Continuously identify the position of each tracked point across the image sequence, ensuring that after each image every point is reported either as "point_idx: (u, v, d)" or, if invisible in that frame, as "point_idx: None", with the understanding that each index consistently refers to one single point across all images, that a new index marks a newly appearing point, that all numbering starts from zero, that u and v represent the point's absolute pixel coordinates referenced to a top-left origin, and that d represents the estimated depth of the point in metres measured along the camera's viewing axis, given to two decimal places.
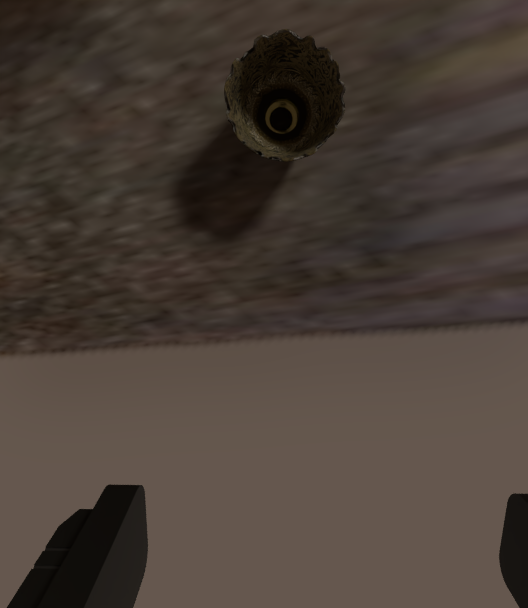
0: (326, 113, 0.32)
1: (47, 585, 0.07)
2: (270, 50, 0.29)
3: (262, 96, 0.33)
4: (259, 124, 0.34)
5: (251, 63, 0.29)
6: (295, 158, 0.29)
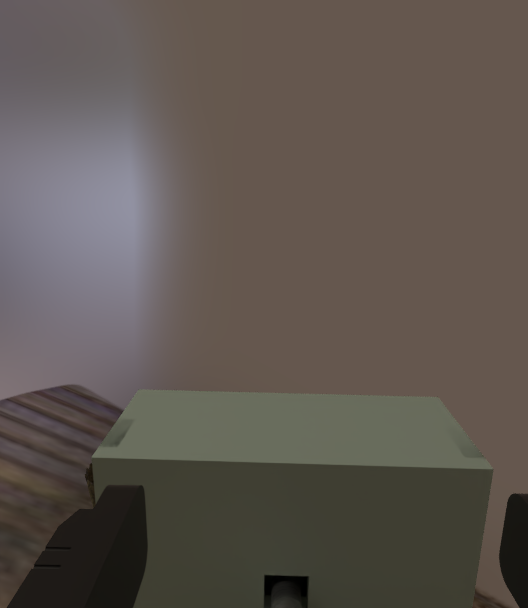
0: None
1: (47, 585, 0.07)
2: None
3: None
4: None
5: None
6: None
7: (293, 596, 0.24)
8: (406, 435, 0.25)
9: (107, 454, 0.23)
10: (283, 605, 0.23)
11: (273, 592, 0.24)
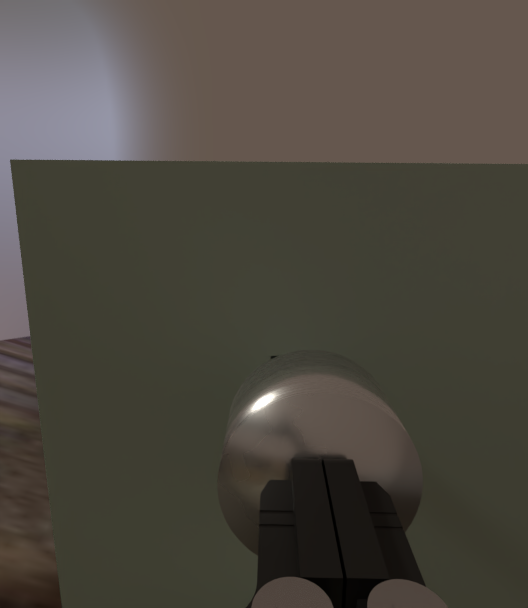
0: None
1: (281, 540, 0.09)
2: None
3: None
4: None
5: None
6: None
7: None
8: None
9: (34, 160, 0.15)
10: None
11: None
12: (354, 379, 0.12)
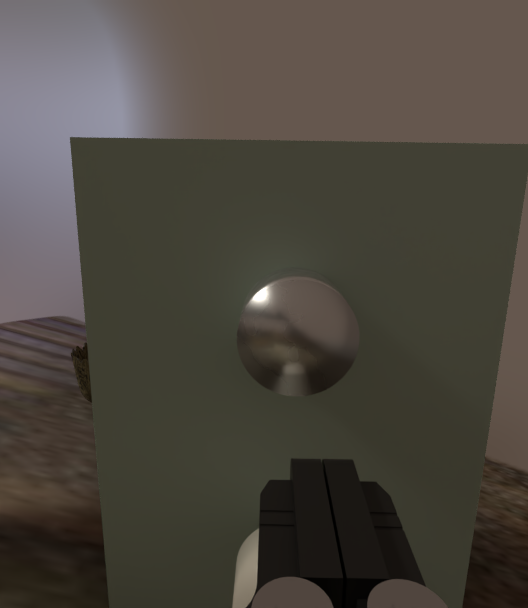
0: None
1: (281, 540, 0.09)
2: None
3: None
4: None
5: None
6: None
7: None
8: None
9: (88, 138, 0.20)
10: None
11: None
12: (320, 278, 0.19)
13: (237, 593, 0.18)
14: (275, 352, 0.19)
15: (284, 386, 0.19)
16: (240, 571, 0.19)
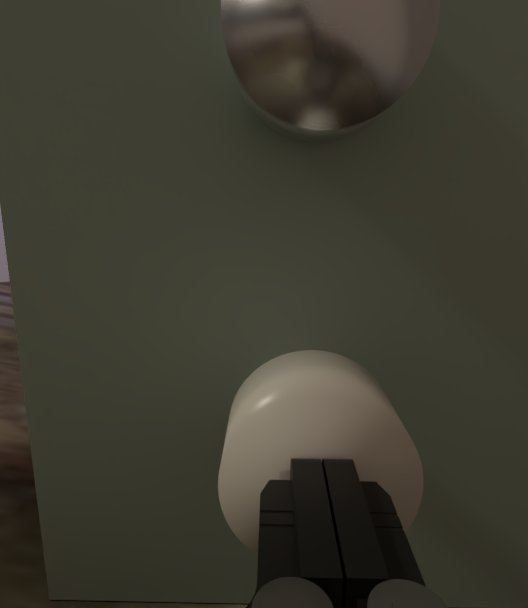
0: None
1: (281, 540, 0.09)
2: None
3: None
4: None
5: None
6: None
7: None
8: None
9: None
10: None
11: None
12: None
13: (228, 438, 0.11)
14: (289, 38, 0.10)
15: (305, 108, 0.11)
16: (233, 415, 0.12)
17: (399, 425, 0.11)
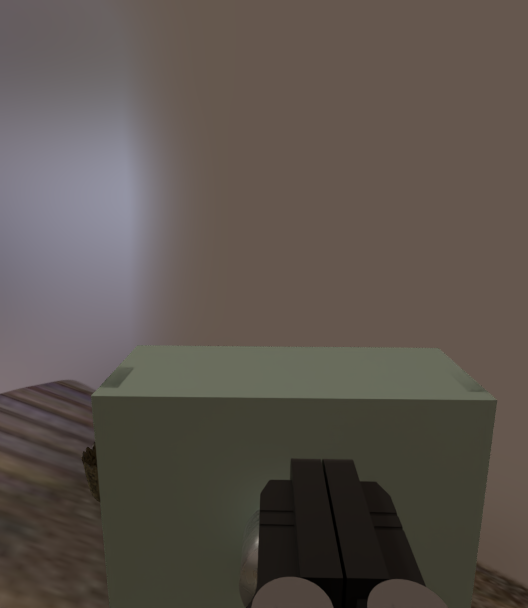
0: None
1: (281, 540, 0.09)
2: None
3: None
4: None
5: None
6: None
7: None
8: (408, 376, 0.25)
9: (107, 393, 0.23)
10: None
11: None
12: None
13: None
14: None
15: None
16: None
17: None
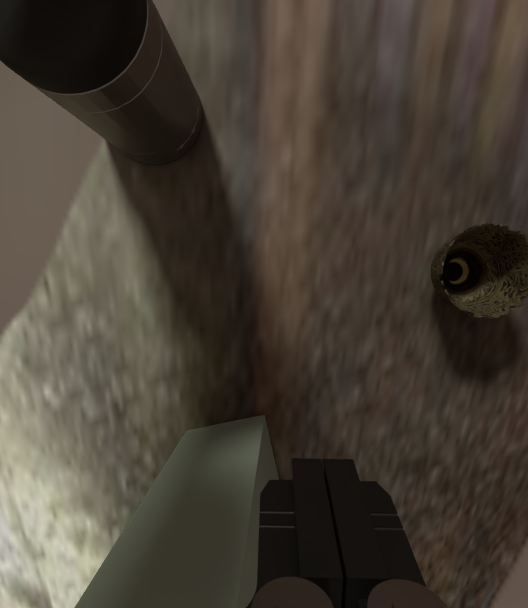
0: (490, 241, 0.39)
1: (281, 540, 0.09)
2: None
3: None
4: (457, 290, 0.41)
5: None
6: None
7: None
8: None
9: None
10: None
11: None
12: None
13: None
14: None
15: None
16: None
17: None
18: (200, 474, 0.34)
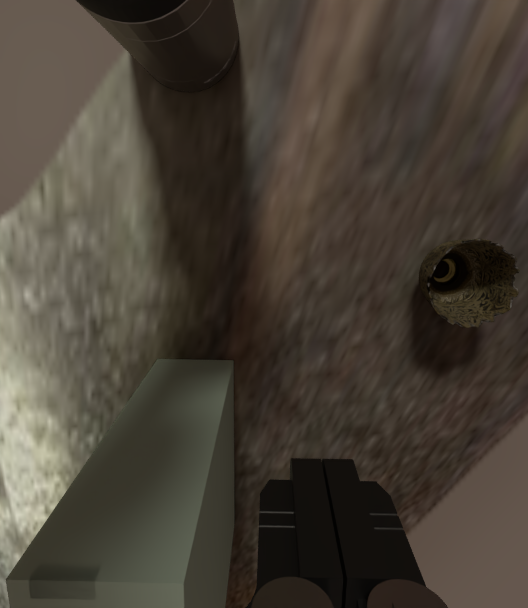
0: (482, 252, 0.41)
1: (281, 540, 0.09)
2: None
3: None
4: (439, 289, 0.43)
5: None
6: (510, 306, 0.38)
7: None
8: None
9: (14, 592, 0.21)
10: None
11: None
12: None
13: None
14: None
15: None
16: None
17: None
18: (168, 410, 0.36)
